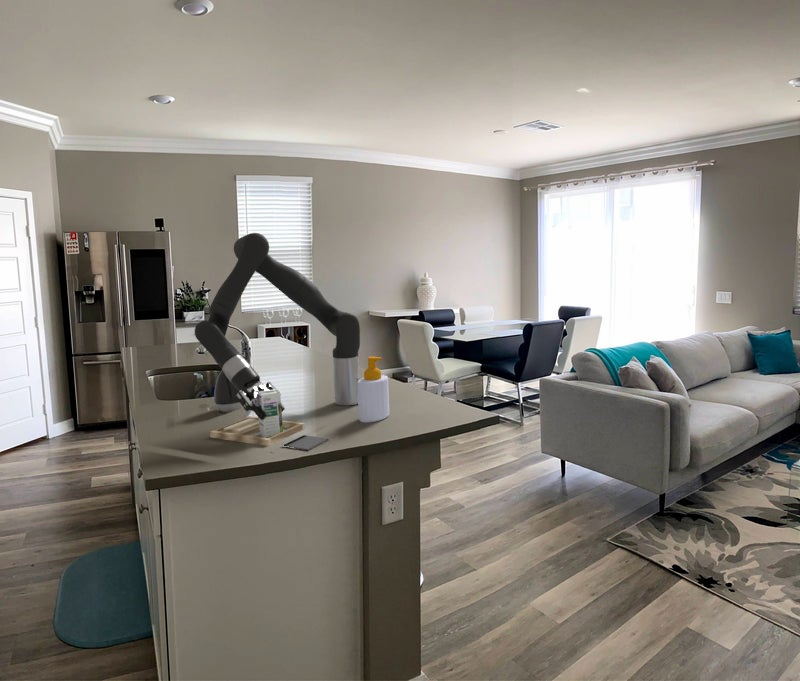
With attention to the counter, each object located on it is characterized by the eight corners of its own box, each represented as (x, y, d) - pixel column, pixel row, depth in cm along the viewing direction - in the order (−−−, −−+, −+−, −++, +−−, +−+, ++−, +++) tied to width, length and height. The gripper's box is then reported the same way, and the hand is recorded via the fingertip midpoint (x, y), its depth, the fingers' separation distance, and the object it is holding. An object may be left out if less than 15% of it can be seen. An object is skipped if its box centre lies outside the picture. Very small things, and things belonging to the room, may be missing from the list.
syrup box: (264, 443, 168) (261, 394, 166) (259, 437, 174) (256, 390, 171) (283, 439, 171) (280, 391, 169) (278, 434, 176) (275, 388, 174)
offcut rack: (210, 441, 172) (209, 431, 172) (249, 425, 187) (249, 416, 187) (268, 450, 162) (268, 439, 162) (305, 432, 177) (304, 423, 177)
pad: (279, 446, 165) (279, 444, 165) (300, 436, 174) (300, 434, 173) (308, 450, 160) (308, 449, 160) (328, 440, 169) (328, 438, 169)
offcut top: (224, 434, 174) (223, 428, 173) (249, 424, 183) (248, 418, 183) (240, 437, 171) (239, 430, 170) (265, 426, 180) (264, 420, 180)
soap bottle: (373, 424, 183) (370, 361, 180) (352, 421, 187) (349, 359, 184) (395, 414, 194) (393, 354, 191) (375, 411, 198) (373, 353, 196)
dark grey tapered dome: (236, 414, 201) (233, 371, 198) (209, 414, 203) (205, 371, 200) (250, 407, 210) (247, 366, 208) (224, 406, 213) (220, 365, 210)
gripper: (230, 370, 166) (264, 412, 163) (262, 361, 179) (295, 400, 175) (217, 386, 169) (251, 429, 166) (250, 377, 182) (282, 415, 178)
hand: (273, 414), depth 171 cm, fingers closed on syrup box, 7 cm apart
